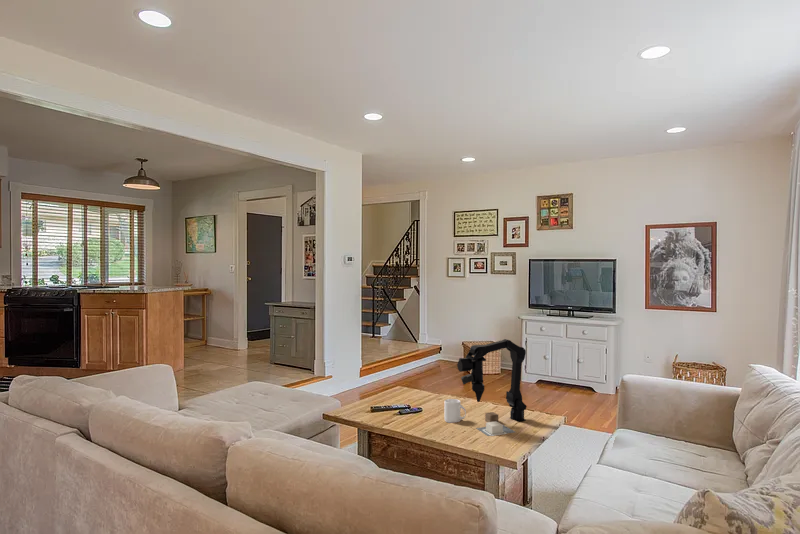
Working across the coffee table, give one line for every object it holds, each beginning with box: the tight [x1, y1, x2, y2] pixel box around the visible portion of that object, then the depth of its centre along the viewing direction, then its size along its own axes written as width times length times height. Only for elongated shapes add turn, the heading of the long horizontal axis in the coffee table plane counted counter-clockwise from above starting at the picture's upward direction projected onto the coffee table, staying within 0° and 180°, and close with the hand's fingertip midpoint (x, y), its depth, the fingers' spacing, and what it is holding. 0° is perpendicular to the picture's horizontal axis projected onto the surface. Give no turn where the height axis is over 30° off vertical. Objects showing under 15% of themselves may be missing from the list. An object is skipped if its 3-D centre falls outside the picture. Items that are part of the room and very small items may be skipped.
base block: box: [485, 421, 504, 435], centre depth 235 cm, size 6×6×4 cm
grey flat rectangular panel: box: [475, 424, 516, 437], centre depth 237 cm, size 16×12×1 cm
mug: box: [443, 398, 467, 424], centre depth 253 cm, size 9×12×11 cm
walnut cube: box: [484, 411, 499, 423], centre depth 251 cm, size 5×5×5 cm
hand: (478, 399), depth 248 cm, fingers open, 9 cm apart
